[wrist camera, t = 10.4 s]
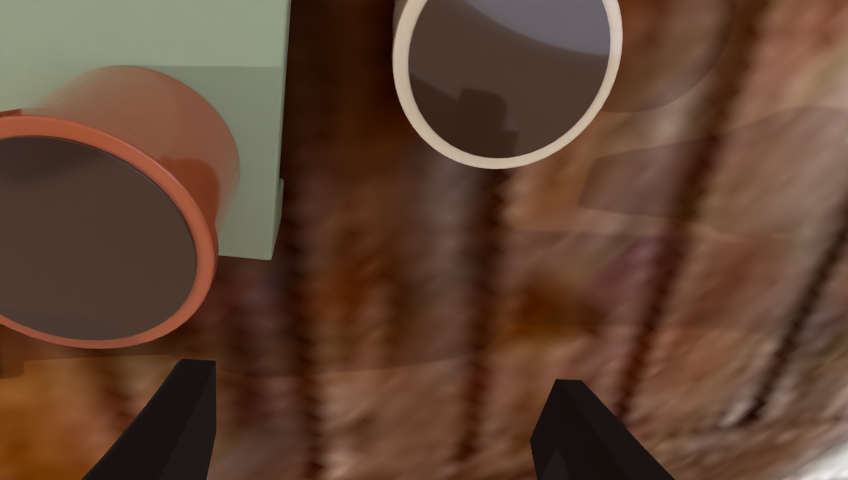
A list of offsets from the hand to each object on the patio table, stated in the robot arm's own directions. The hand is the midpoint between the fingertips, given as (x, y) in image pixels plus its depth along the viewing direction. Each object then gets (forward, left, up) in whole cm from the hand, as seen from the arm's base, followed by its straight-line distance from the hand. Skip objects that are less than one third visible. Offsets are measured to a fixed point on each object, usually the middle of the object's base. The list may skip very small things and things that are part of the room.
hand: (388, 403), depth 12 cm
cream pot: (+2, +6, -9) cm, 12 cm away
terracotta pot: (-7, +2, -7) cm, 10 cm away
